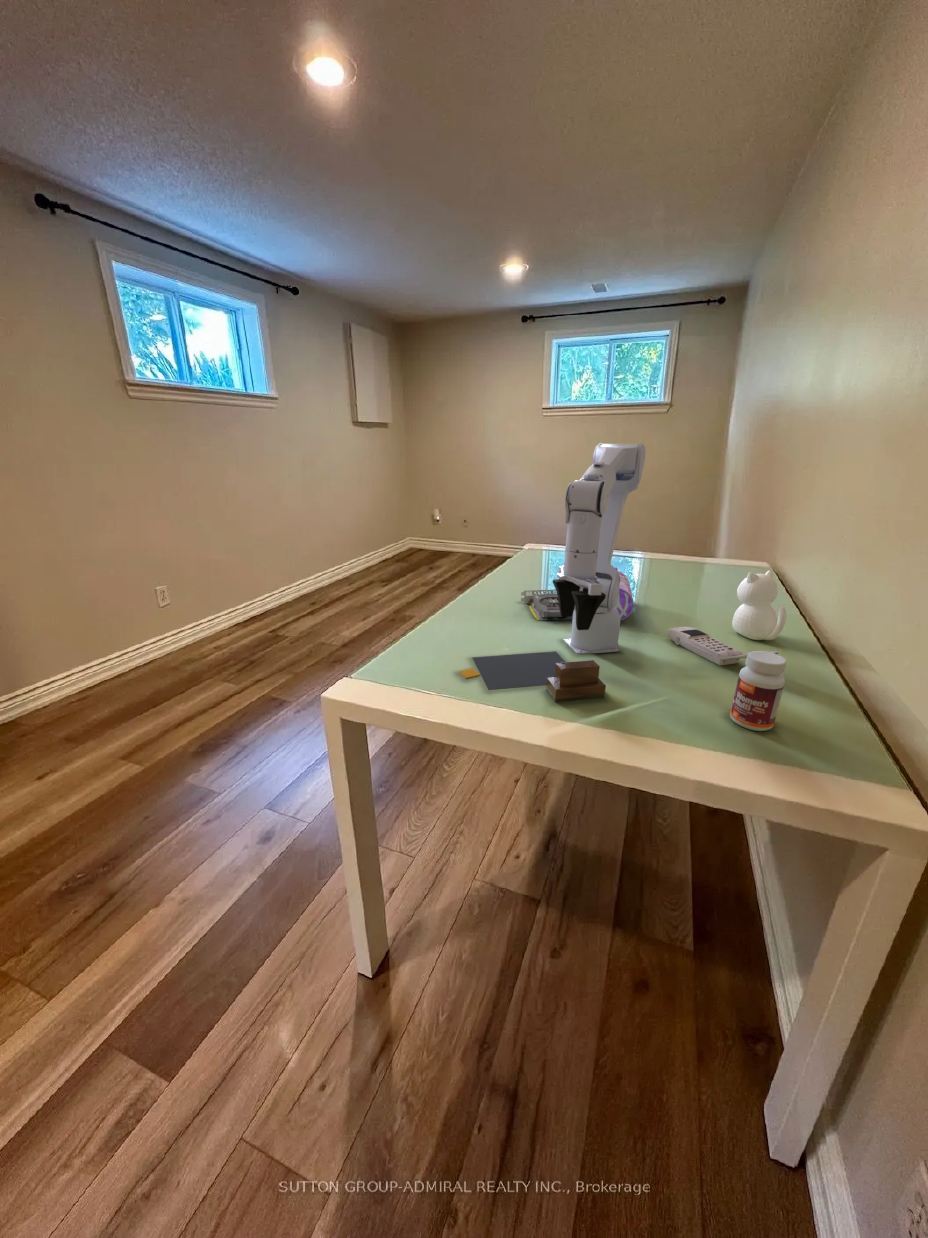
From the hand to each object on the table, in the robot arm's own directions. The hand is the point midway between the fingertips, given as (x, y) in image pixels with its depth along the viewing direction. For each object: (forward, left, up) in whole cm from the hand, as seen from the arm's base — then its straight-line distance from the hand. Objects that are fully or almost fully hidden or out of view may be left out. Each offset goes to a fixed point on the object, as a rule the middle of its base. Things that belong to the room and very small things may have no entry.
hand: (574, 622), depth 91 cm
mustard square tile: (+20, -1, -10) cm, 22 cm away
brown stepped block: (+3, +9, -10) cm, 14 cm away
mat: (+9, -2, -10) cm, 13 cm away
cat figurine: (-49, -10, -10) cm, 51 cm away
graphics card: (-8, -35, -10) cm, 37 cm away
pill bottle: (-21, +22, -10) cm, 33 cm away
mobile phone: (-32, -2, -10) cm, 34 cm away
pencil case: (-26, -32, -10) cm, 43 cm away
